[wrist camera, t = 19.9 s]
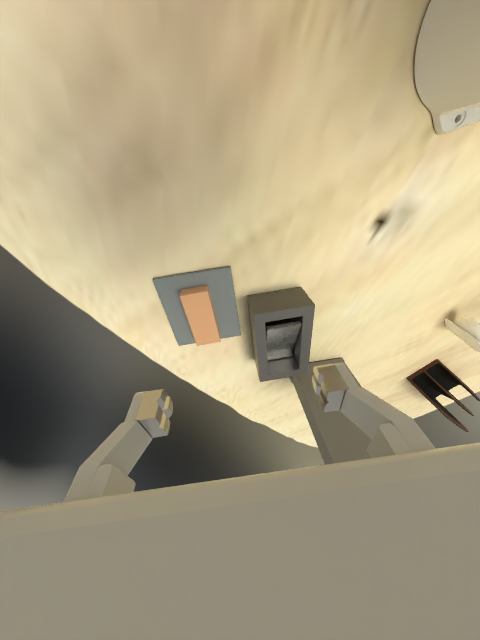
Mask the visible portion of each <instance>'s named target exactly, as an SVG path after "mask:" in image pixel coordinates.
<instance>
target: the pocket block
mask: <svg viewBox="0 0 480 640" xmlns="http://www.w3.org/2000/svg"><path fill="white" fill-rule="evenodd" d="M247 297H248V305H249V314H250V323H251V332H252V341H253V349H254V358H255V363H256V367H257V371H258V376H259V380H260V382H263V381H268V380H274V379H280V378H286V377H291V376H297V375H303V374H308V365H309V355H310V346H311V337H312V328H313V318H314V309H315V304H314V303H313V302H312V300H311V299H310V298H309V297H308V295H307V294H306V293H305V291H304V290H303V289H302V288H301V287H297V288H291V289H285V290H279V291H273V292H267V293H260V294H254V295H248V296H247ZM288 318H290V323H291V322H297V321H300V322H301V327H300V330H299V333H298V336H297V338H296V341H295V344H294V347H293V350H292V354H293V356H292V357H286V358H281V359H275V360H269V361H267V345H266V329H265V322H270V321H276V320H282V319H288ZM286 353H287V352H286ZM280 354H281V353H280ZM274 355H275V354H274ZM269 356H270V355H269Z"/></svg>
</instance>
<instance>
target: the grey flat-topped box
mask: <svg viewBox="0 0 480 640" xmlns="http://www.w3.org/2000/svg"><path fill="white" fill-rule="evenodd" d="M341 362H343V363H344V364H345V362H344V360H343V358H338V359H332V360H325V361H319V362H312V363H309V365H308V374H303V375H297V376H291V382H292V383H293V384H294V386H295V389H296V391H297V394H298V397H299V399H300V402H301V404H302V407H303V409H304V412H305V414H306V417H307V419H308V422H309V425H310V427H311V430H312V432H313V435H314V437H315V440H316V442H317V445H318V448H319V450H320V453H321V455H322V458H323V460H324V463H325V465H327V464H334V463H341V462H348V461H355V460H362V459H369V458H370V456H369V454H368V452H367V448H368V446H369V444H370V442H371V441H372V439H371V438H370V437H369V436H368V435H366V434H365V433H364V432H363V431H362V430H361V429H360V428H359V427H357V426H356V425H355V424H354V423H353V422H352V421H351V420H349V419H348V418H347V417H346V416H345V415H344V414H343V413H342V412H340V410H339V411H331V412H324V411H323V409H322V407H321V404H320V402H319V397H320V396H319V395H317V394H316V393H315V390H314V387H313V383H312V376H313V375H314V372H313V368H314V367H315V366H320V365H326V364H334V363H341ZM345 365H346V364H345ZM346 367H347V365H346ZM347 368H348V367H347ZM348 370H349V368H348ZM349 371H350V370H349ZM350 373H351V371H350ZM351 375H352V376H353V378H354V379H355V381H356V382H357V384H358V386H359V387H360V388H362V387H361V385H360V384H359V383H358V381H357V380H356V378H355V377H354V375H353V374H352V373H351Z"/></svg>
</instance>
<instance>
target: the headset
mask: <svg viewBox="0 0 480 640" xmlns="http://www.w3.org/2000/svg"><path fill="white" fill-rule="evenodd" d="M444 320H445V324H446V326H447V328H448V329H449V330H450V331H451V332H452V333H454V334H455V335H456V336H457V337H459V338H460V339H461V340H462V341H464V342H465V343H466V344H468V345H469V346H470V347H471V348H473V349H474V350H476V351H479V352H480V323H478V322H477V321H475V320H473V319H471V318H468V317H461V318H458V319H457V320H456V321H455V323H453V322H451V321H450V320H448V319H447V318H444Z"/></svg>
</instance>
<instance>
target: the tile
mask: <svg viewBox="0 0 480 640" xmlns="http://www.w3.org/2000/svg"><path fill="white" fill-rule="evenodd" d="M180 299H181V302H182V305H183V307H184V310H185V313H186V316H187V319H188V321H189V324H190V327H191V330H192V333H193V336H194V338H195V341H196V344H197V346H198V345H204V344H209V343H215V342H220V341H221V340H220V331H219V327H218V323H217V320H216V316H215V312H214V308H213V304H212V300H211V296H210V292H209V288H208V285H204V286H199V287H193V288H188V289H182V290H181V292H180Z"/></svg>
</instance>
